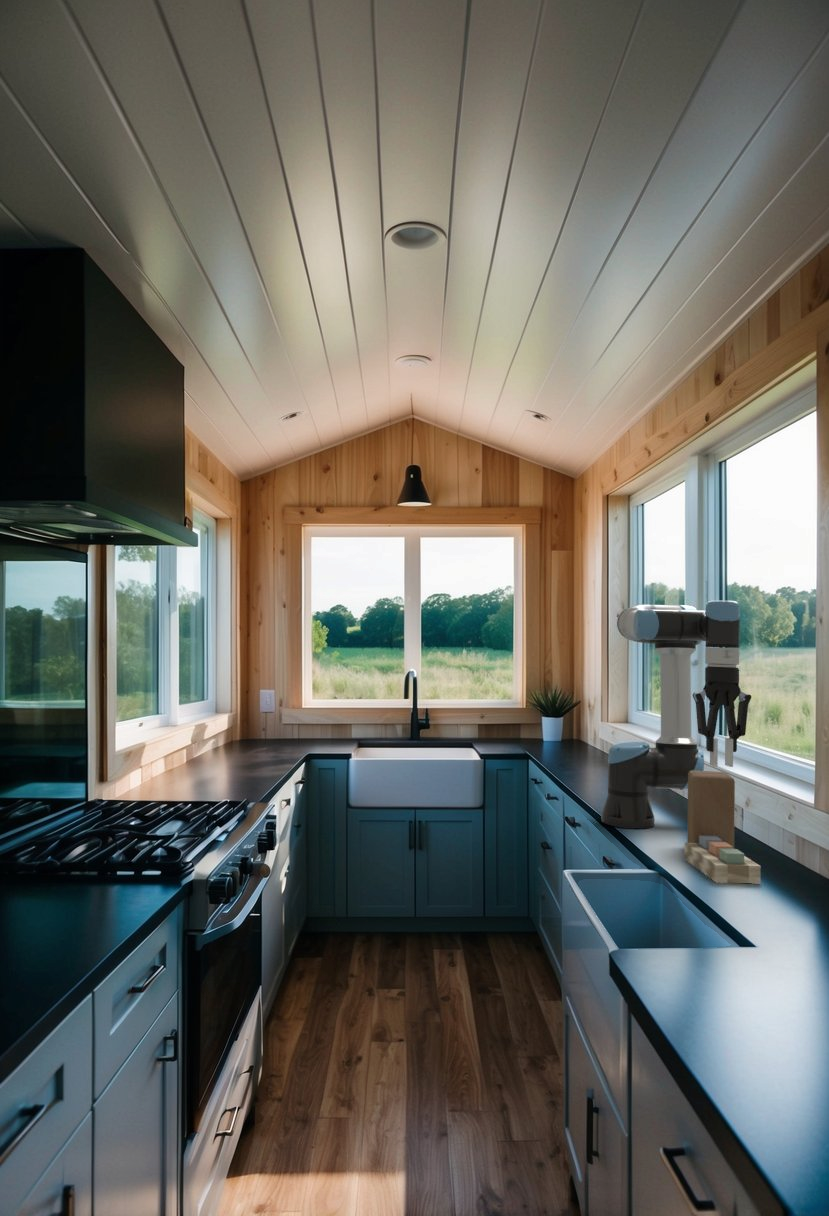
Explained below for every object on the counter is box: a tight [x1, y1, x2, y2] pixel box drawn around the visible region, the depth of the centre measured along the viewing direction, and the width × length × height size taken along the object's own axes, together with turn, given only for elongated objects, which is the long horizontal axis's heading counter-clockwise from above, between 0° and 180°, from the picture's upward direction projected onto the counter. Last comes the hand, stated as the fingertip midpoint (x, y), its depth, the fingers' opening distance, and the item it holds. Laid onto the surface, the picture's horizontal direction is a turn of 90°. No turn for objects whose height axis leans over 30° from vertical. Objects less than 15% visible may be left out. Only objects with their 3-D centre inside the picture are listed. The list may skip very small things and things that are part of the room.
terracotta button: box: [709, 842, 733, 856], centre depth 183 cm, size 4×4×4 cm
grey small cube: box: [699, 836, 722, 849], centre depth 189 cm, size 4×4×4 cm
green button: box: [719, 848, 745, 864], centre depth 177 cm, size 4×4×4 cm
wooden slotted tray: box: [684, 842, 762, 885], centre depth 183 cm, size 19×10×4 cm, turn 1°
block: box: [686, 770, 736, 849], centre depth 199 cm, size 10×10×20 cm
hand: (721, 765), depth 184 cm, fingers open, 3 cm apart
